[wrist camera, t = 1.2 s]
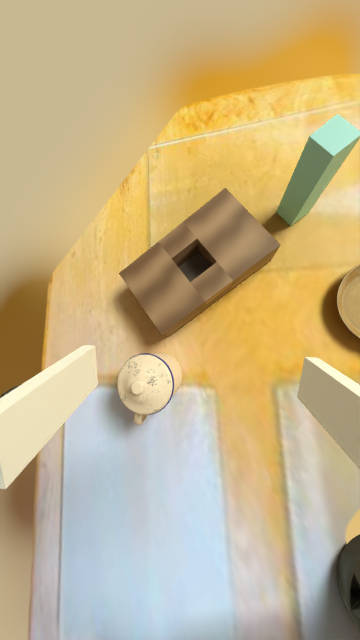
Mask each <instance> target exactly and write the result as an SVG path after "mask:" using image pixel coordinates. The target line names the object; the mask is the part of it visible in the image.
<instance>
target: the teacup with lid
mask: <svg viewBox="0 0 360 640" xmlns="http://www.w3.org/2000/svg"><path fill="white" fill-rule="evenodd" d="M181 382H182V370H181V367H180V365H179V363H178V362H177V360H176V359H175V358H173V357H172V356H170V355H168V354H165V353H154V354H147V353H145V354H138V355H136V356H133V357H132V358H130V359H129V360H128V361H127V362H126V363H125V364H124V365H123V367H122V368H121V370H120V372H119V375H118V380H117V388H118V393H119V396H120V398H121V400H122V402H123V403H124V405H125V406H126V407H127V408H128V409H130V410H131V411H133V412H135V415H134V423H135V424H137V425H141V424H142V423H143V422H144V420H145V419H146V417H147V415H150V414H154V413H157V412H159V411H161V410H162V409H163V408H164V407H165V406H166V405H167V404H168V403H169V401H170V400H171V397H172V396H173V395H174V394H175V393H176V391H177V390H178V389H179V387H180V385H181Z"/></svg>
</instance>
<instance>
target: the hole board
mask: <svg viewBox="0 0 360 640" xmlns="http://www.w3.org/2000/svg"><path fill="white" fill-rule="evenodd" d="M279 246H280V244H279V243H278V242H277V241H276V240H275V239H274V238H273V237H272V236H271V235H270V234H269V232H268V231H267V230H266V229H265V228H264V227H263V226H262V225H261V224H260V223H259V222H258V221H257V220H256V219H255V218H254V217H253V216H252V215H251V214H250V213H249V212H248V211H247V210H246V209H245V208H244V207H243V206H242V205H241V204H240V202H239V201H238V200H237V199H236V198H235V197H234V196H233V195H232V194H231V193H230V192H229V191H228V190H227V189H226V188H225V189H223V190H222V191H221V192H220V193H218V194H217V195H216V196H215V197H213V198H212V199H211V200H210V201H208V202H207V203H206V204H205V205H203V206H202V207H201V208H200V209H198V210H197V211H196V212H195V213H193V214H192V215H191V216H190V217H189V218H187V219H186V220H185V221H184V222H182V223H181V224H180V225H179V226H177V227H176V228H175V229H174V230H172V231H171V232H170V233H169V234H167V235H166V236H165V237H164V238H162V239H161V240H160V241H159V242H157V243H156V244H155V245H154V246H152V247H151V248H150V249H149V250H148V251H146V252H145V253H144V254H143V255H141V256H140V257H139V258H138V259H136V260H135V261H134V262H133V263H131V264H130V265H129V266H128V267H126V268H125V269H124V270H123V271H121V272H120V273H119V274H120V275H121V277H122V278H123V280H124V281H125V283H126V284H127V286H128V287H129V289H130V290H131V291H132V293H133V294H134V296H135V297H136V299H137V300H138V302H139V303H140V305H141V306H142V307H143V309H144V310H145V312H146V313H147V315H148V316H149V318H150V319H151V321H152V322H153V324H154V325H155V326H156V328H157V329H158V331H159V332H160V334H161V335H166V336H171V335H172V334H173V333H175V332H176V331H177V330H179V329H180V328H181V327H183V326H184V325H185V324H187V323H188V322H189V321H191V320H192V319H193V318H195V317H196V316H197V315H199V314H200V313H201V312H203V311H204V310H205V309H207V308H208V307H209V306H211V305H212V304H213V303H215V302H216V301H217V300H219V299H220V298H221V297H223V296H224V295H225V294H227V293H228V292H229V291H231V290H232V289H233V288H235V287H236V286H237V285H239V284H240V283H241V282H243V281H244V280H245V279H247V278H248V277H249V276H251V275H252V274H253V273H255V272H256V271H257V270H259V269H260V268H261V267H263V266H264V265H265V264H267V263H268V262H269V261H271V259H272V258H273V256H274V254H275V253H276V251H277V250H278V248H279Z"/></svg>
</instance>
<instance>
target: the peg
mask: <svg viewBox="0 0 360 640" xmlns="http://www.w3.org/2000/svg"><path fill="white" fill-rule="evenodd" d="M359 138H360V131H359V130H358V129H357V128H356V127H354V126H353V125H352V124H350V123H349V122H348V121H346V120H345V119H344V118H342V117H341V116H340V115H338V114H337V115H336V116H334V117H333V118H332V119H331V120H329V121H328V122H327V123H326V124H324V125H323V126H322V127H321V128H319V129H318V130H317V131H315V132H314V133H313V134H312V135H310V136H309V139H308V141H307V143H306V145H305V148H304V150H303V152H302V155H301V157H300V159H299V161H298V164H297V166H296V168H295V170H294V173H293V175H292V177H291V180H290V182H289V184H288V186H287V189H286V191H285V193H284V195H283V198H282V200H281V202H280V205H279V207H278V209H277V211H276V212H277V213H278V214H279V215H280V216H281V217H282V218H283V219H284V220H285V221H286V222H287V223H288V224H289V225H290V226H292V225H293V224H294V223H295V222H297V221H298V220H299V219H301V218H302V217H303V216H305V215H306V214H307V213H309V211H310V210H311V208H312V207H313V205H314V204H315V203H316V201H317V200H318V198H319V197H320V195H321V194H322V192H323V191H324V189H325V188H326V186H327V185H328V184H329V182H330V181H331V179H332V178H333V176H334V175H335V173H336V172H337V170H338V169H339V168H340V166H341V165H342V163H343V162H344V160H345V159H346V157H347V156H348V154H349V153H350V152H351V150H352V149H353V147H354V146H355V144H356V143H357V141H358V140H359Z"/></svg>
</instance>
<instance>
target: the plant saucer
mask: <svg viewBox="0 0 360 640" xmlns="http://www.w3.org/2000/svg"><path fill="white" fill-rule="evenodd" d="M337 307H338V311H339V314H340V316H341V319H342V320H343V322H344V324H345V325H346V326H347V327H348V329H349V330H350V331H351V332H352V333H353V334H354V335H356V336H357V337H358V338H360V264H359V265H357V266H356V267H354V268H353V269H352V270H351V271H349V272H348V273H347V275H346V276H345V277H344V278H343V280H342V282H341V284H340V286H339V289H338V293H337Z"/></svg>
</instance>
